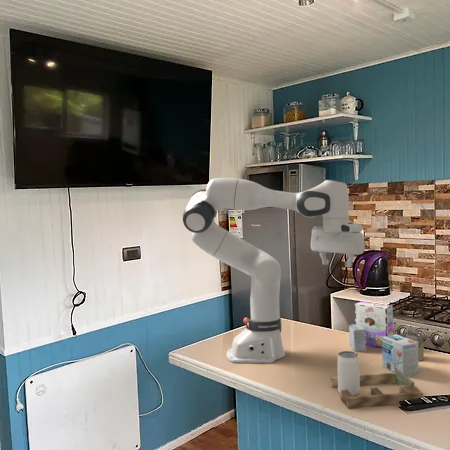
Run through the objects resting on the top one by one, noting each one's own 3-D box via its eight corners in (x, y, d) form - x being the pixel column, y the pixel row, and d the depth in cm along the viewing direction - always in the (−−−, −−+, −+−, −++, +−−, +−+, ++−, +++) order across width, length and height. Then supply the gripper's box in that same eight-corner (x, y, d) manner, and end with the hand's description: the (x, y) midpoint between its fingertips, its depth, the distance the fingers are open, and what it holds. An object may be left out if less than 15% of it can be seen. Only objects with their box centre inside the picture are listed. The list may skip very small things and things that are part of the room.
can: (356, 387, 146) (355, 350, 145) (362, 396, 139) (362, 357, 139) (335, 388, 146) (334, 351, 145) (341, 397, 139) (340, 358, 138)
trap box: (347, 408, 132) (347, 395, 132) (330, 386, 148) (330, 373, 147) (422, 403, 133) (422, 389, 133) (397, 381, 149) (397, 369, 149)
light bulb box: (381, 366, 163) (381, 336, 162) (397, 363, 165) (396, 333, 164) (403, 377, 153) (402, 345, 152) (419, 373, 155) (419, 342, 154)
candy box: (394, 346, 183) (393, 305, 182) (387, 350, 179) (386, 308, 178) (362, 339, 193) (361, 300, 192) (354, 343, 189) (354, 303, 188)
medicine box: (366, 351, 178) (365, 329, 178) (354, 352, 178) (353, 329, 178) (360, 345, 186) (360, 323, 186) (349, 345, 186) (348, 324, 186)
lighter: (426, 360, 167) (425, 332, 167) (418, 362, 165) (418, 334, 165) (410, 354, 173) (409, 328, 173) (402, 356, 172) (402, 329, 171)
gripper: (306, 226, 168) (307, 264, 169) (356, 227, 153) (357, 269, 153) (317, 225, 172) (317, 262, 173) (366, 226, 157) (367, 267, 158)
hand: (336, 265), depth 163 cm, fingers open, 8 cm apart
